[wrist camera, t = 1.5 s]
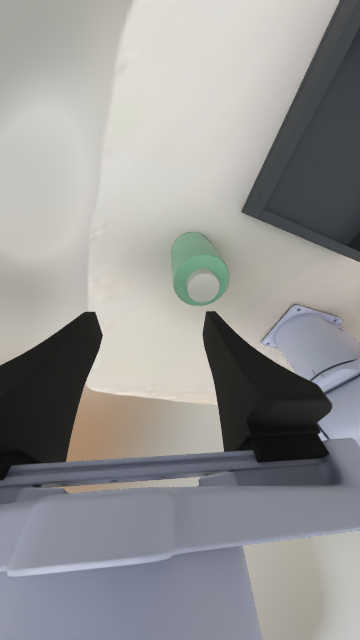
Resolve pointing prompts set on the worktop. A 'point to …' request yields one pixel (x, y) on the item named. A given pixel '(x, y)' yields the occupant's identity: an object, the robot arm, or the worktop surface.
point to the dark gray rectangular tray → (319, 147)
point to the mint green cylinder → (197, 270)
